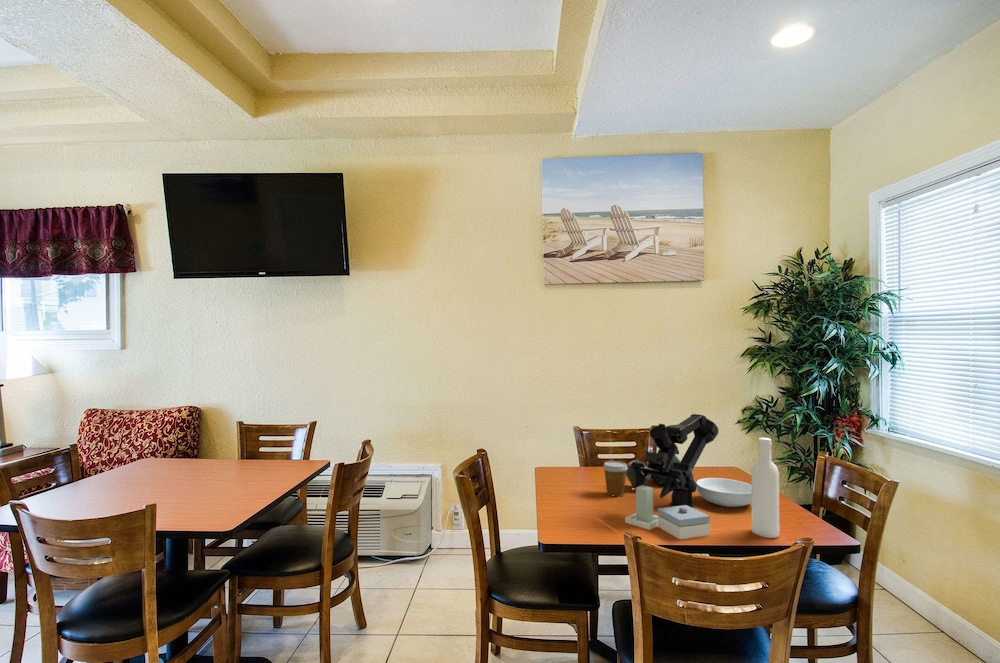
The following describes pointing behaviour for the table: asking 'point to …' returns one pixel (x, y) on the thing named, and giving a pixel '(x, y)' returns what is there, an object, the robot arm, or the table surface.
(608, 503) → the table surface
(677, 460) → the squash
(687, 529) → the lidded well
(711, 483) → the serving bowl
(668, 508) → the lid
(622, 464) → the disposable coffee cup
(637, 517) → the sage post
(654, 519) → the post well
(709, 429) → the robot arm
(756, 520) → the bottle
